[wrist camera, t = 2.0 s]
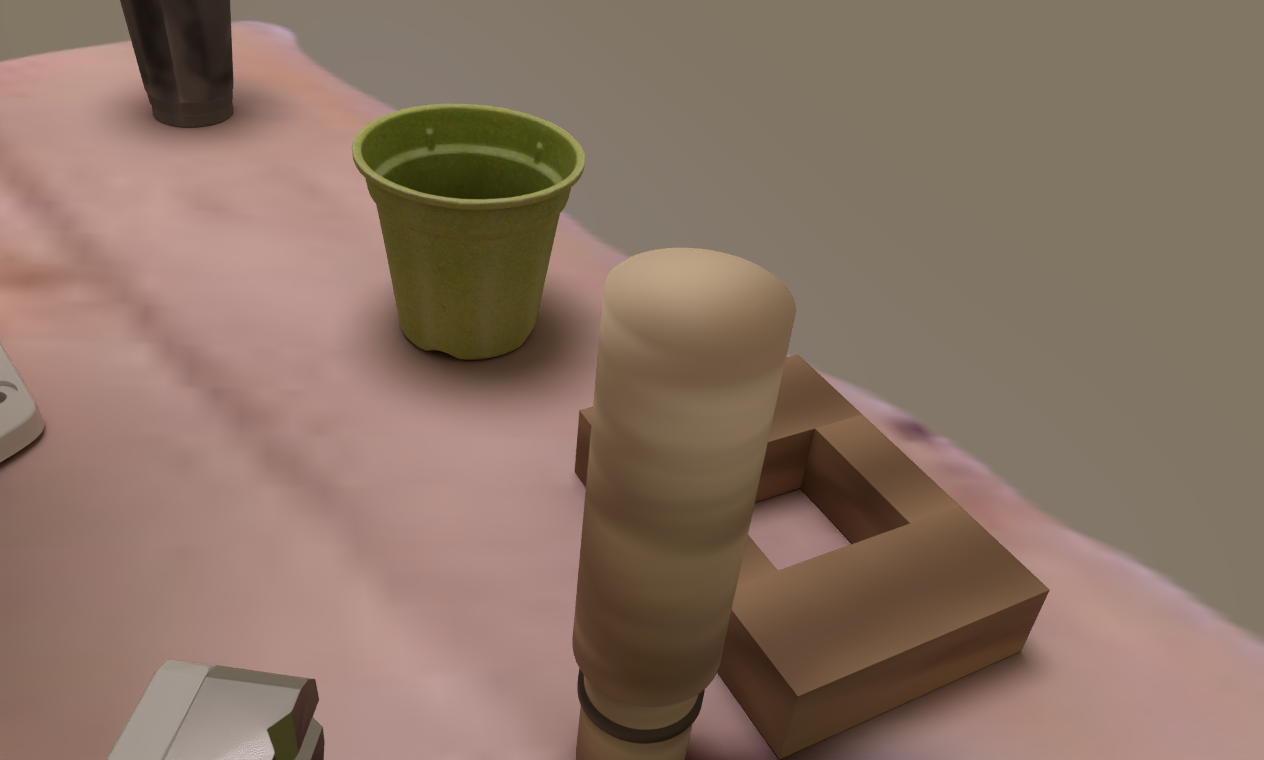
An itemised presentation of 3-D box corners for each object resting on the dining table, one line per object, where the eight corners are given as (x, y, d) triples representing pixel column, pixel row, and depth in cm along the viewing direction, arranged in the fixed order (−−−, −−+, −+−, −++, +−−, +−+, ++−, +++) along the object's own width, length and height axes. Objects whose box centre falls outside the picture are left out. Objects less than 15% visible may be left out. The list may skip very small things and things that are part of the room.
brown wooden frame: (574, 471, 42) (579, 410, 40) (785, 411, 46) (798, 354, 44) (779, 759, 32) (798, 696, 30) (1021, 650, 36) (1049, 590, 35)
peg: (540, 727, 32) (571, 265, 23) (656, 682, 34) (729, 235, 25) (600, 840, 30) (664, 369, 20) (723, 785, 31) (834, 327, 22)
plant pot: (514, 255, 55) (519, 91, 49) (610, 353, 48) (627, 177, 43) (334, 295, 50) (319, 119, 45) (413, 408, 44) (407, 219, 39)
